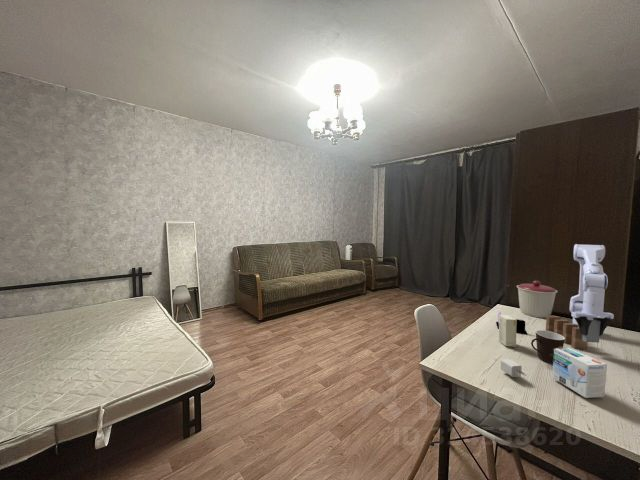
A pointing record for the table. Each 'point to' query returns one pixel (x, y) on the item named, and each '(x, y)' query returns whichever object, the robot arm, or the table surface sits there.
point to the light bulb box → (579, 372)
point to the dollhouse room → (519, 328)
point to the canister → (536, 299)
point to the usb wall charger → (511, 368)
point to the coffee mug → (547, 344)
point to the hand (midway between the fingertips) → (590, 334)
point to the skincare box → (507, 330)
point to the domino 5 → (593, 332)
